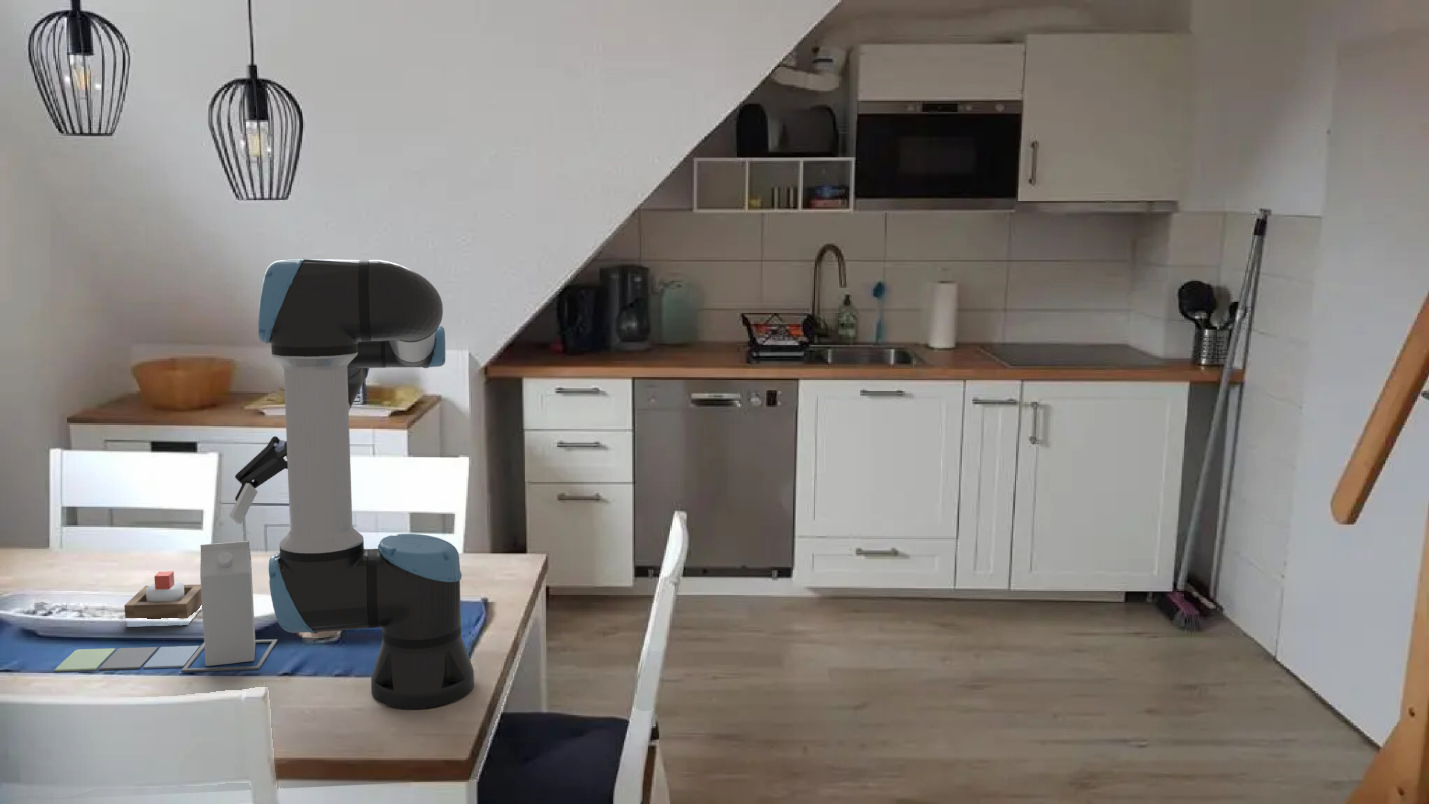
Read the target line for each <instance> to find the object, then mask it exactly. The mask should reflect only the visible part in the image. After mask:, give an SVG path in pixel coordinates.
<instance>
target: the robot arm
mask: <svg viewBox="0 0 1429 804" xmlns="http://www.w3.org/2000/svg"><path fill="white" fill-rule="evenodd" d="M441 298H442V297H441V295H440V293H439V292H438V290H437V289H436V287H435V286H434V285H433V284H432V283H431V282H430V281H429V280H428V279H427V278H425V277H424V276H422V275H421V274H419V273H418V272H417V271H414V270H412V269H410V268H408V267H406V266H403V265H401V264H397V263H395V262H391V261H387V260H381V259H368V260H367V259H366V260H365V259H363V260H360V259H312V258H311V259H310V258H308V259H307V258H305V257H302V258H297V259H296V258H295V259H283V260H282V259H281V260H276V261H273V262H272V263H270V265H269V266H267V268H266V271H265V273H264V277H263V280H262V285H261V290H260V297H259V306H258V318H257V319H258V320H257V325H258V326H257V327H258V334H257V335H258V338H259V342H262V343H264V344H271V345H270V347H271V348H270V350H271V357H272V358H273V359H274V360H275V361H277V362H278V363H279V364H280V365H281V366H282V367H283V378H284V380H283V381H284V383H283V384H284V405H285V406H284V407H285V430H286V433H285V434H286V436H285V438H286V440H284V439H280V438H279V437H278V436H275V435H274V436H272V437H271V439H270V440H269V442H268V443H267V445H266V446H265V447H264V448H263V449H262V450H261V451H260V452H259V453H258V454H257V455H255V457H253V459H251V460H250V461H249V462H248V463H247V464H246V465H245V466H244V467H242V468H241V469H240V470H239V471H238V472H237V473H236V474H235V476H234V478H235V479H236V480H237V482H238V483H240V484H241V486H240V488H239V490H238V492H237V493H236V495H235V497H234V499H235V503H234V506H233V508H232V509H231V511H230V513H229V515H228V516H229V517H230V519H231V520H233V522H235V523H236V524H237V525H242V523H243V521H244V519H245V517H246V515H247V514H248V511H249V510H250V508H251V505H252V503H253V502H254V499H255V497H256V496H257V494H258V490H257V489H256V488H258V487H260V486H261V485H263V484H265V483H266V482H267V481H269V480H270V479H271V478H273V477H275V476H276V475H277V474H279V473H281V472H282V471H283V470H287V484H288V485H287V486H288V508H289V510H288V511H289V531H288V533H287V534H286V535H285V536H284V538H282V539H281V541H280V542H279V552H276V553H274V554H272V555H270V557H269V561H268V575H269V581H268V582H269V591H270V597H271V602H272V607H273V612H274V615H275V618H276V621H277V623H278V624H279V626H280V628H282V630H284V631H286V632H288V633H293V634H295V633H301V634H302V633H310V634H318V633H321V632H335V631H337V632H338V631H347V630H350V631H351V630H361V629H363V630H365V629H372V628H373V629H376V628H381V645H380V649H379V652H378V655H377V658H376V660H375V665H374V668H373V671H372V675H371V679H370V684H371V686H370V687H371V696H372V697H373V699H374V700H375V701H377V702H378V703H380V704H382V705H384V706H387V707H390V708H391V707H393V708H395V709H396V708H397V709H407V710H408V709H409V710H410V709H411V710H412V709H413V710H415V709H416V710H418V709H429V708H436V707H441V706H444V705H448V704H451V703H453V702H456V701H459V700H460V699H462V698H464V697H466V696H467V695H469V693H470V692H471V691H472V690H473V688H474V685H475V678H474V677H475V673H474V666H473V665H472V662H471V661H472V660H471V659H470V656H469V654H468V651H467V648H466V645H465V642H464V641H463V640H464V639H463V637H462V606H461V601H462V600H461V580H462V576H463V575H462V571H461V565H460V562H461V561H460V554H459V551H458V549H457V548H456V546H454V544H453V543H451V542H449V541H448V540H445V539H443V538H441V537H440V538H439V537H437V536H431V535H427V534H426V535H425V534H421V533H420V534H417V533H399V534H398V533H397V534H396V535H391V534H390V535H388V536H386V537H383V538H382V539H380V541H379V544H378V545H377V548H365V544H364V543H365V542H364V536H363V535H362V534H361V533H360V532H359V531H358V530H357V529H355V528H354V527H353V505H352V502H353V501H352V500H353V499H352V476H351V475H352V471H351V445H350V444H351V443H350V442H351V440H350V439H351V438H350V410H351V408H352V406H353V404H354V402H355V401H356V398H357V396H358V394H359V392H360V390H361V388H362V386H363V384H364V381H366V379H367V378H368V376H369V371H370V369H378V368H379V369H381V368H383V369H384V368H385V369H387V368H423V369H428V368H439V367H442V366H444V365H445V364H446V330H445V328H444V327H443V326H442V325H440V324H441V323H442V320H443V312H444V311H443V310H444V307H443V301H442V299H441ZM285 457H286V459H285Z"/></svg>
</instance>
